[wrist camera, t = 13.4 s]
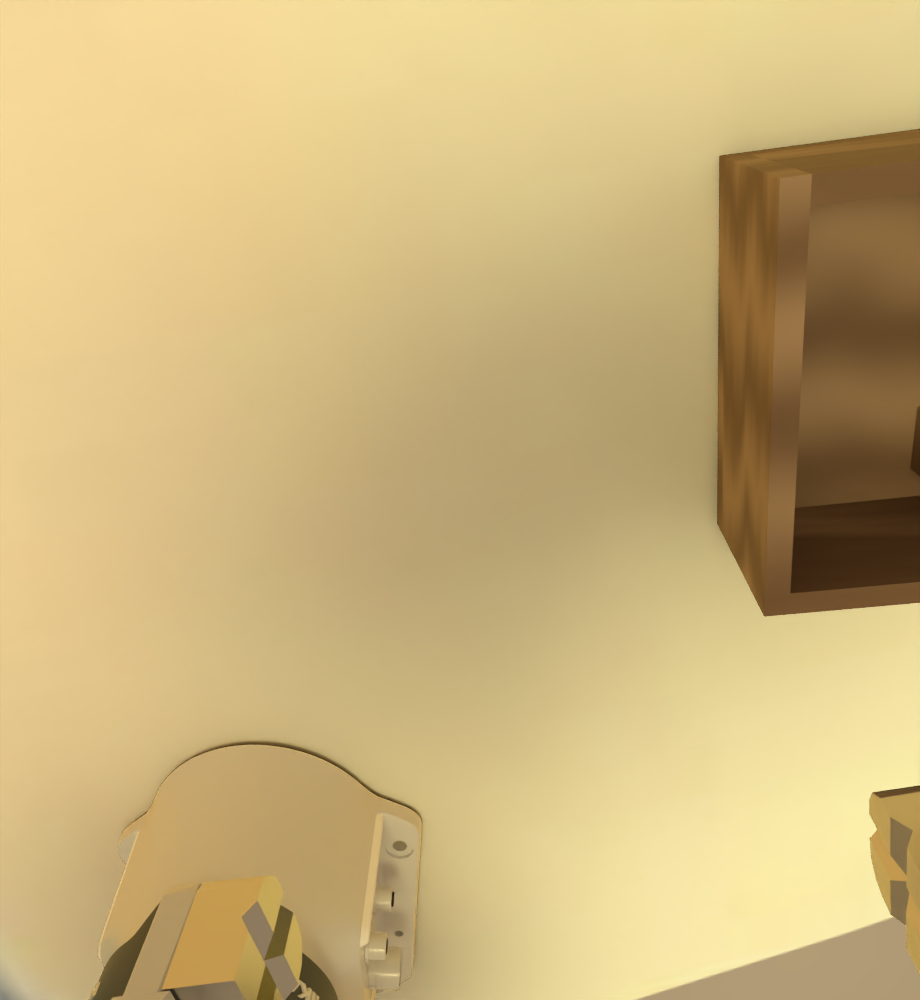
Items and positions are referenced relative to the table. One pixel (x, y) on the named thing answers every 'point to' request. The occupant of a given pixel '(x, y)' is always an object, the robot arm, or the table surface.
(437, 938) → the table surface
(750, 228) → the wooden box
